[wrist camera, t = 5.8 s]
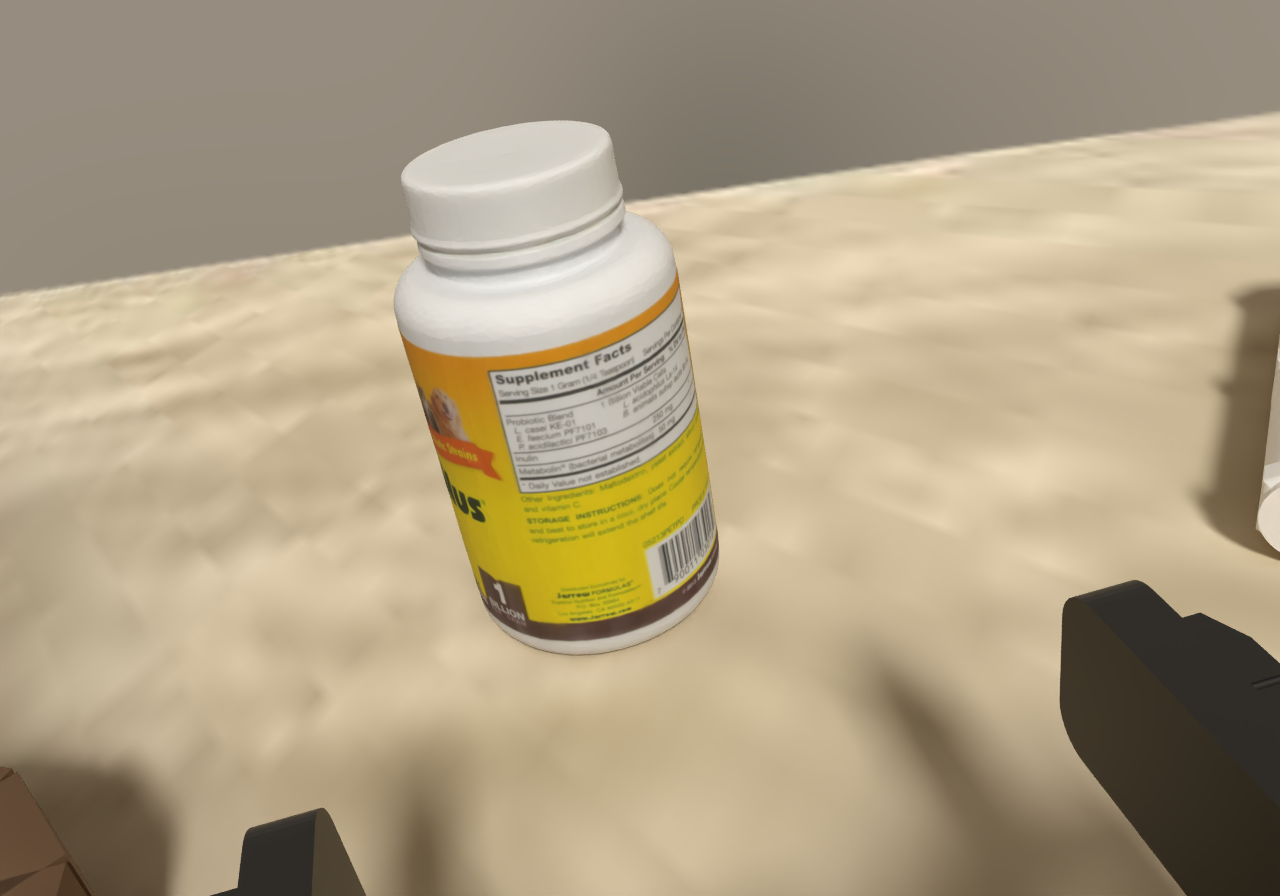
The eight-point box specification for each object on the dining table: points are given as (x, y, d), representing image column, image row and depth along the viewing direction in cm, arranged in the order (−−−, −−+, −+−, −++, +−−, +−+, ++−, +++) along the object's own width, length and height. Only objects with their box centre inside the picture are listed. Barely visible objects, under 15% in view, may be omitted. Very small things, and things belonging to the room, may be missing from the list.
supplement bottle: (486, 540, 28) (371, 139, 23) (702, 497, 28) (637, 87, 23) (483, 692, 23) (337, 229, 18) (745, 640, 23) (673, 163, 18)
